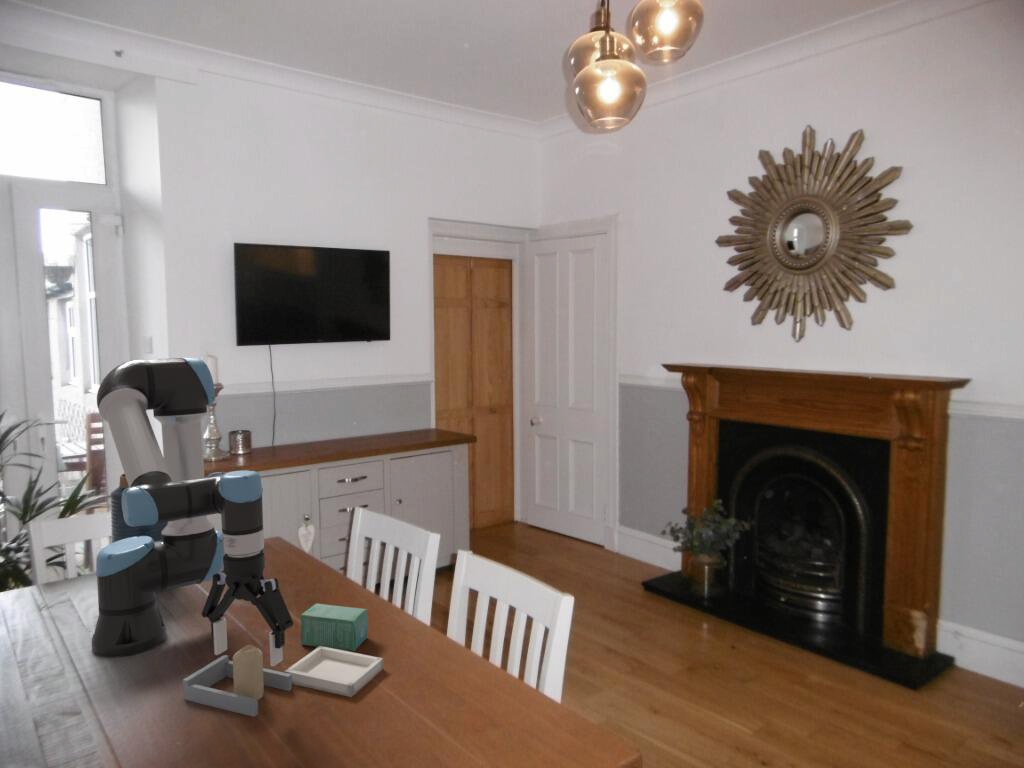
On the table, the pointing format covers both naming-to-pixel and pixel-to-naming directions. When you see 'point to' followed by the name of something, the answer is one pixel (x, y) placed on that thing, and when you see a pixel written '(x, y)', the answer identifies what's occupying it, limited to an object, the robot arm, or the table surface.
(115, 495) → the vase
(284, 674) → the bracket
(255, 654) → the candle
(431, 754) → the table surface
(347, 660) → the tray
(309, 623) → the box
